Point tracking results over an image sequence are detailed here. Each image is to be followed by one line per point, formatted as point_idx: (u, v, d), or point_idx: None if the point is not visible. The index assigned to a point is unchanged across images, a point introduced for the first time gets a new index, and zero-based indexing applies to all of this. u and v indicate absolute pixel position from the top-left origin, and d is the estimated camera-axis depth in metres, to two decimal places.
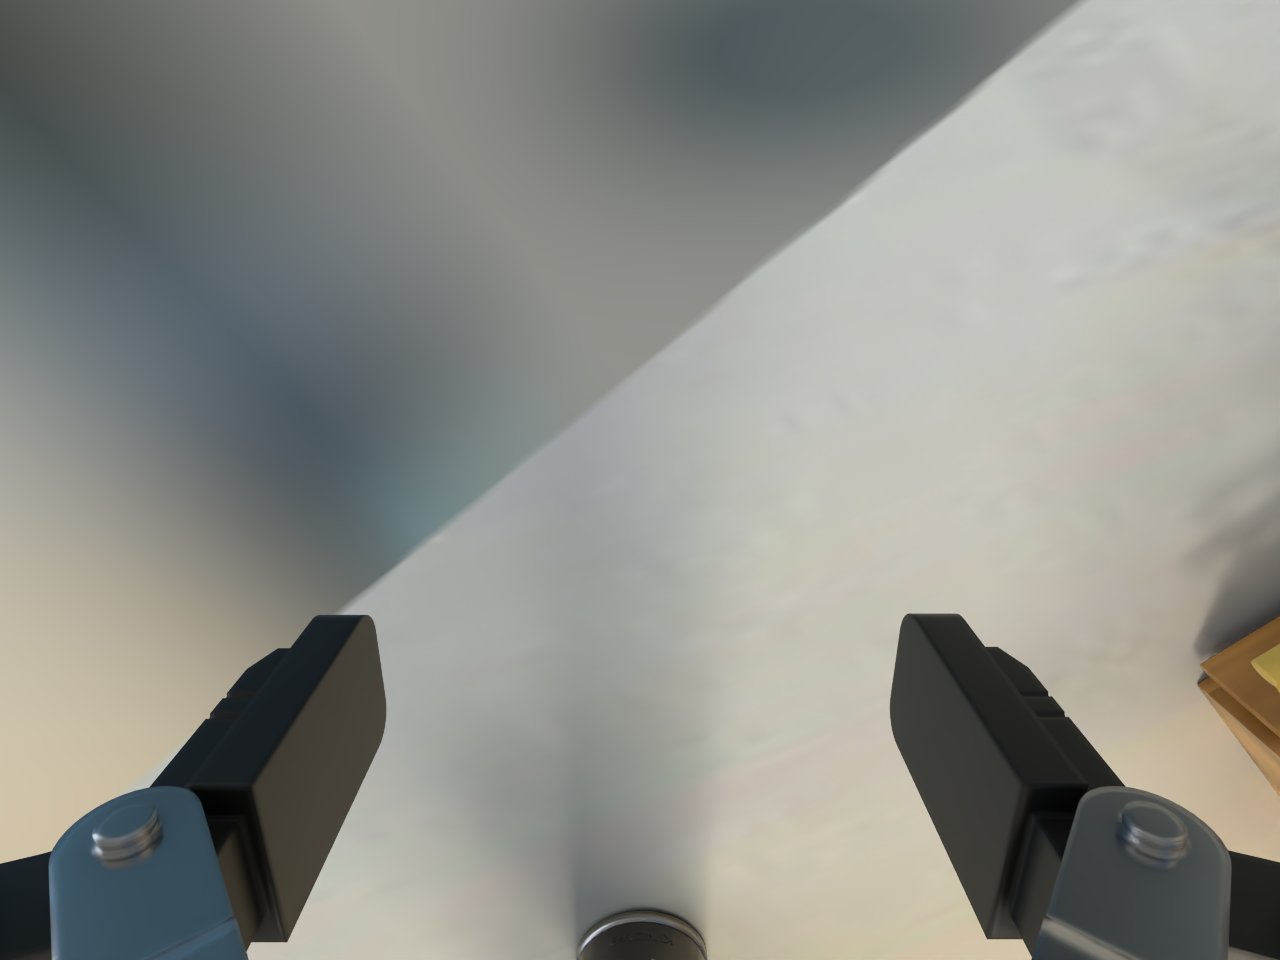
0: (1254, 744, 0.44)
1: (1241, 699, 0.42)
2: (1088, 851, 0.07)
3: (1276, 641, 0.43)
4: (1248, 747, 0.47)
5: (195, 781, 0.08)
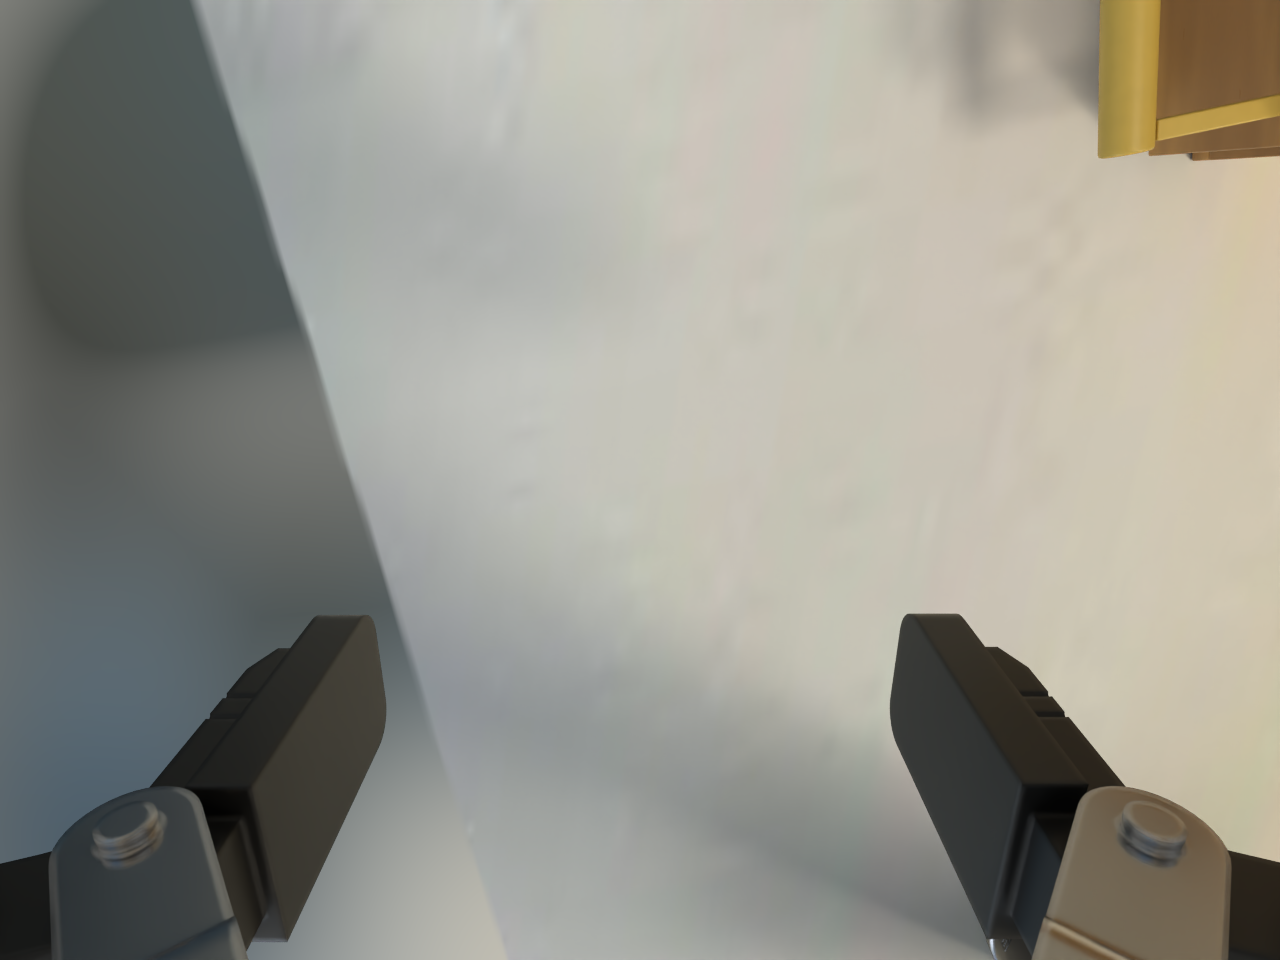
0: None
1: (1209, 150, 0.26)
2: (1088, 851, 0.07)
3: (1176, 42, 0.27)
4: None
5: (195, 781, 0.08)
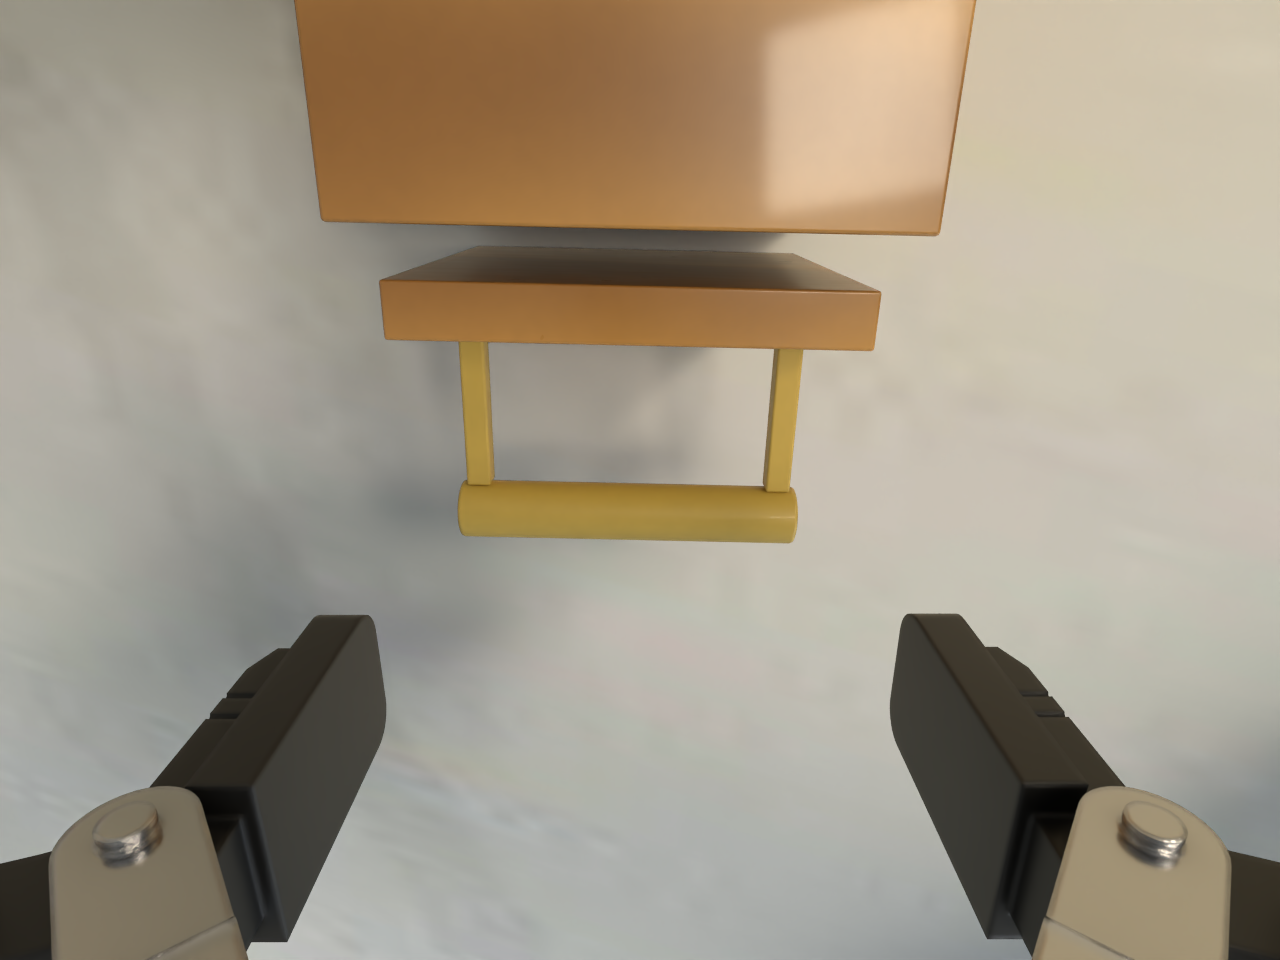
0: None
1: None
2: (1088, 851, 0.07)
3: None
4: None
5: (195, 781, 0.08)
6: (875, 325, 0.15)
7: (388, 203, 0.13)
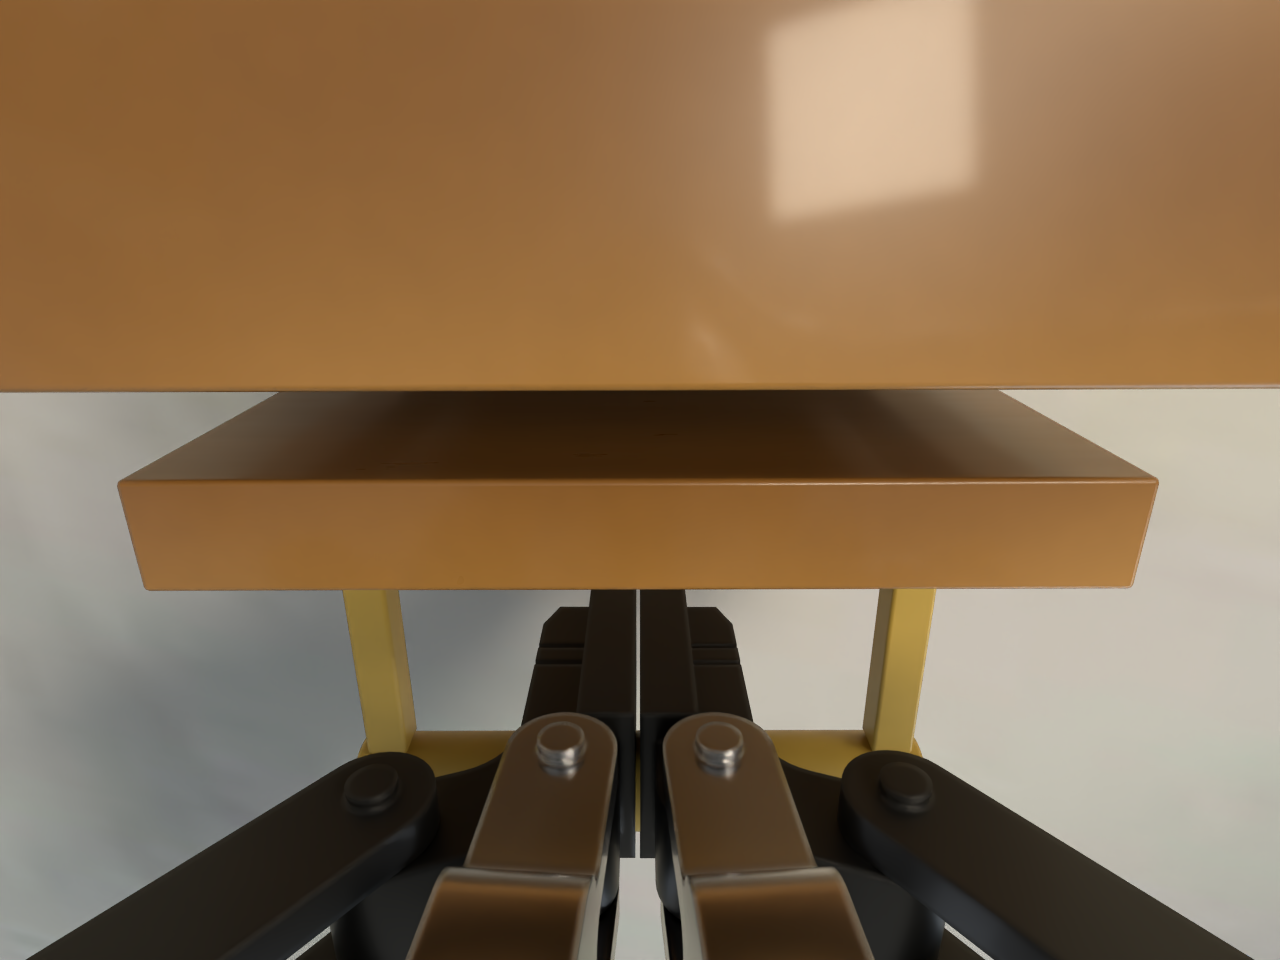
0: None
1: None
2: (686, 790, 0.08)
3: None
4: None
5: (581, 710, 0.09)
6: (1142, 543, 0.07)
7: (65, 351, 0.06)
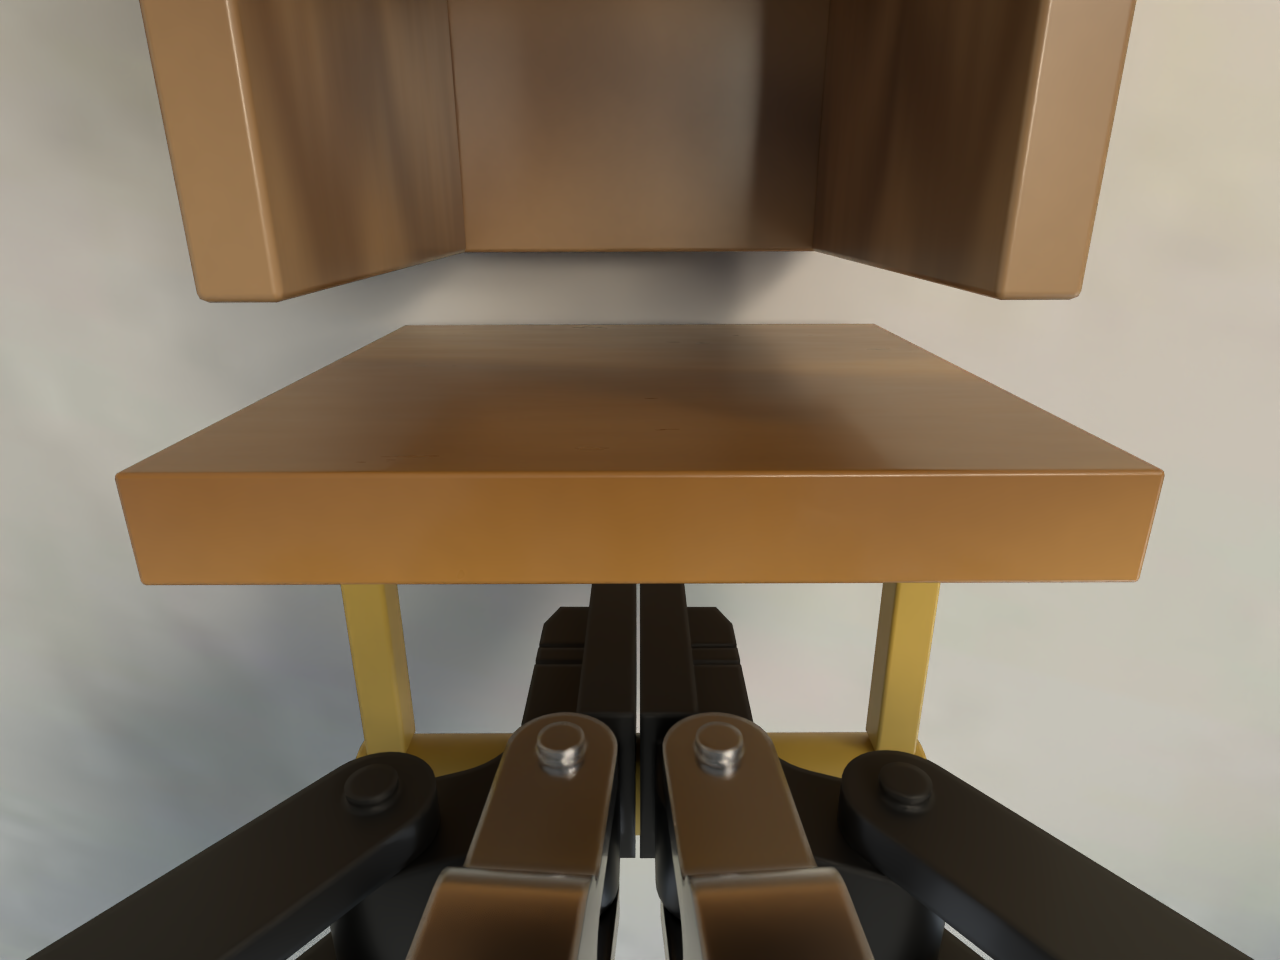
0: None
1: None
2: (686, 790, 0.08)
3: None
4: None
5: (581, 710, 0.09)
6: (1147, 536, 0.07)
7: None
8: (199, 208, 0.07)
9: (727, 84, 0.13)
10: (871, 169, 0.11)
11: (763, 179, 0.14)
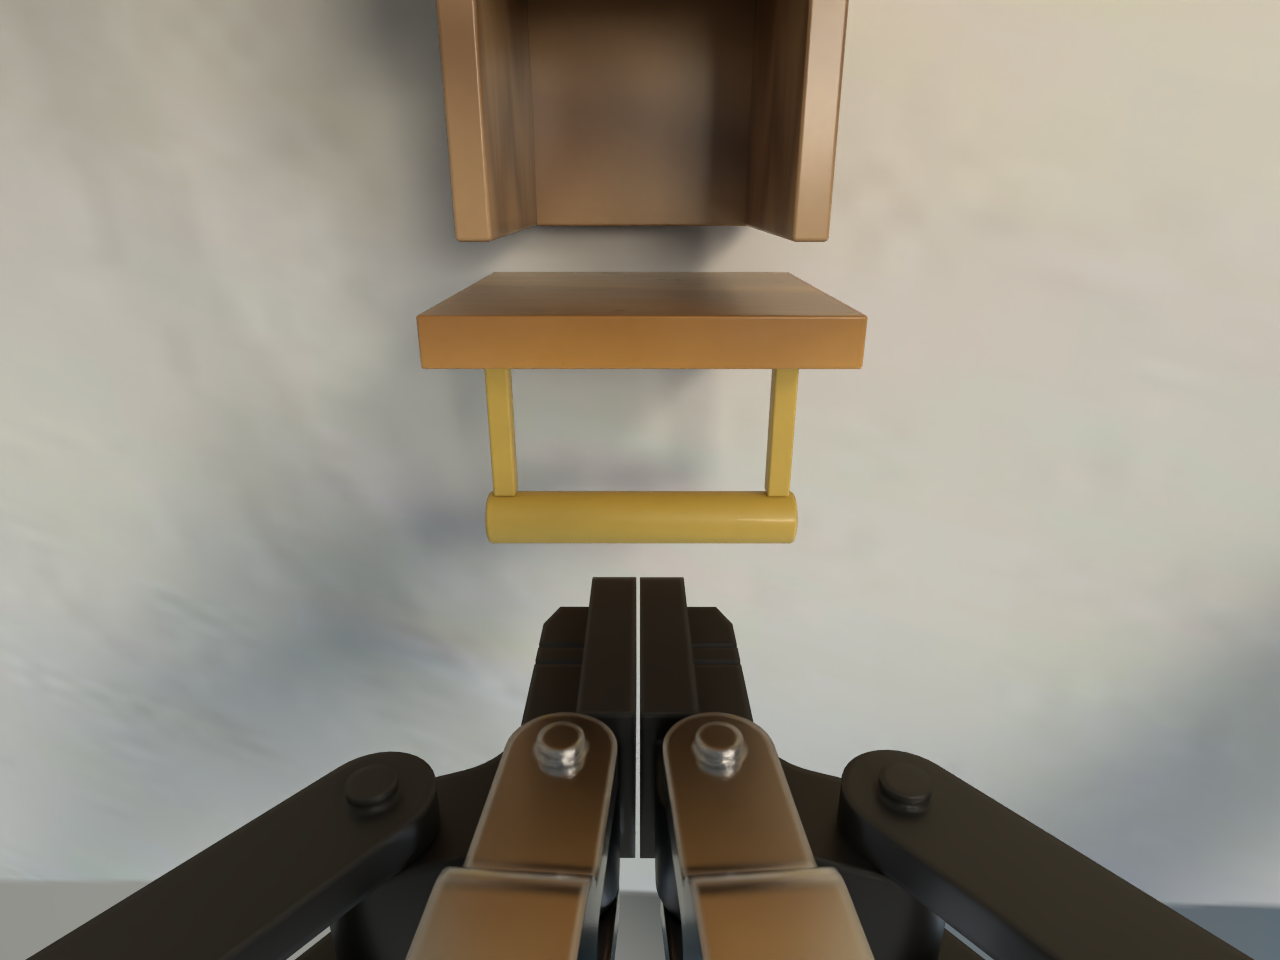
0: None
1: None
2: (686, 790, 0.08)
3: None
4: None
5: (581, 710, 0.09)
6: (862, 346, 0.17)
7: None
8: (461, 201, 0.16)
9: (693, 126, 0.23)
10: (764, 180, 0.20)
11: (715, 182, 0.23)
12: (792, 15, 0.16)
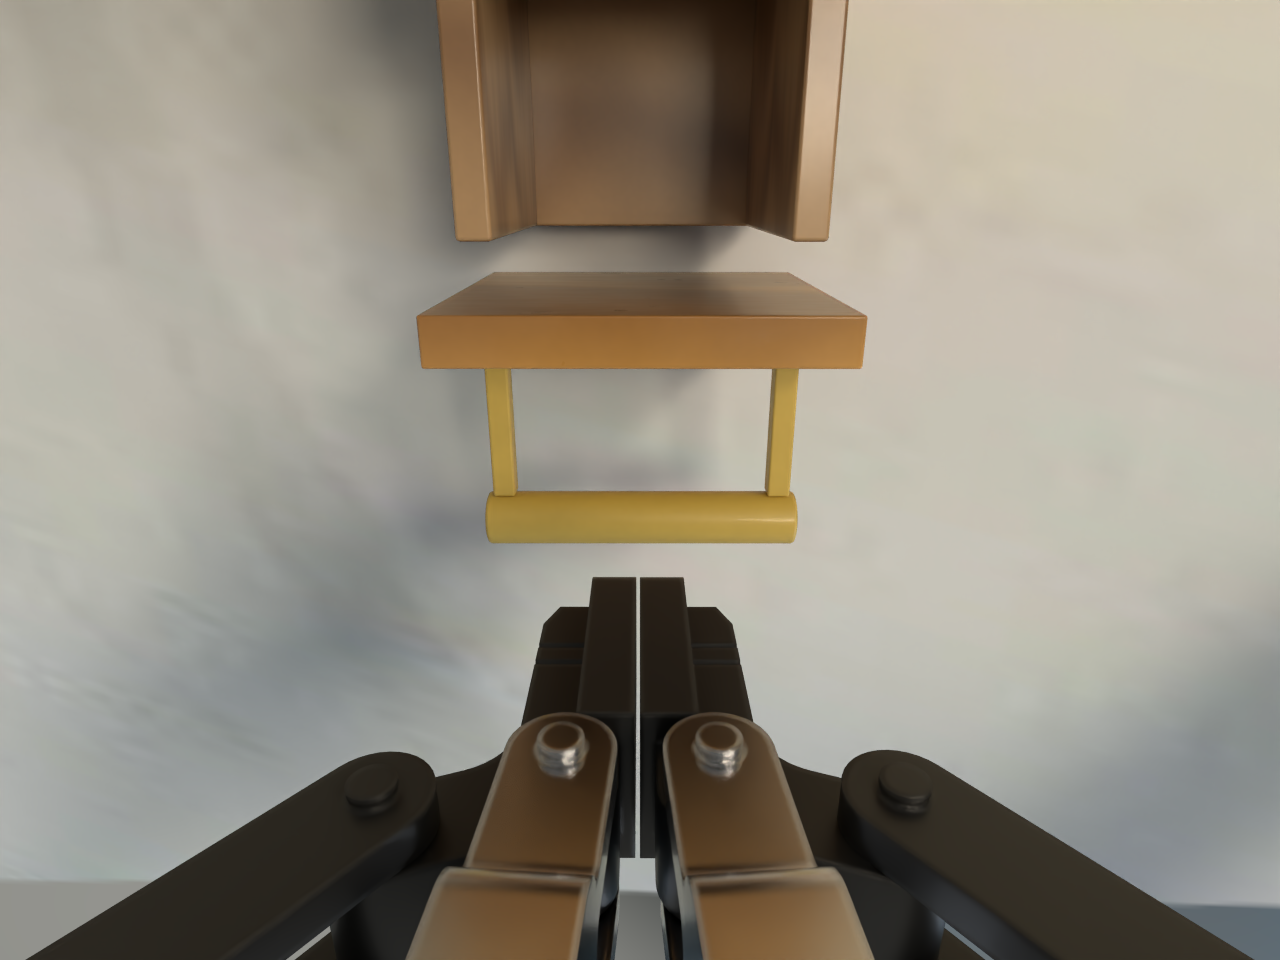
0: None
1: None
2: (686, 790, 0.08)
3: None
4: None
5: (581, 710, 0.09)
6: (862, 346, 0.17)
7: None
8: (461, 201, 0.16)
9: (693, 126, 0.23)
10: (764, 180, 0.20)
11: (715, 182, 0.23)
12: (792, 15, 0.16)
